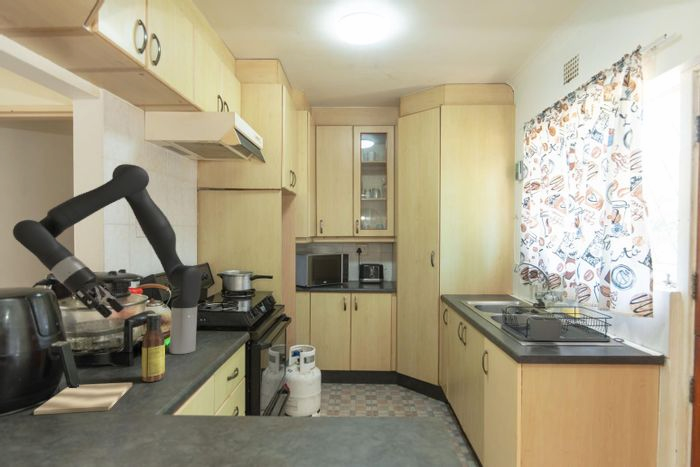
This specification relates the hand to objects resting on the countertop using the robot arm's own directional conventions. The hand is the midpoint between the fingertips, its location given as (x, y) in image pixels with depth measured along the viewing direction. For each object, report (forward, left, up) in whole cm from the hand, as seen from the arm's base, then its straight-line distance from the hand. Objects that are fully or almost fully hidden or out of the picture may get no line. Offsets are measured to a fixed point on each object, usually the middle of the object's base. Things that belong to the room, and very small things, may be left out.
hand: (115, 313), depth 111 cm
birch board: (+13, -1, -20) cm, 24 cm away
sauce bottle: (0, +11, -21) cm, 23 cm away
